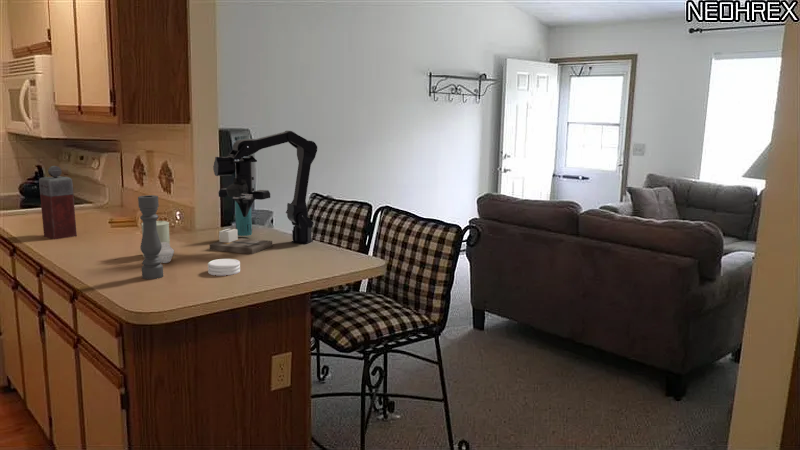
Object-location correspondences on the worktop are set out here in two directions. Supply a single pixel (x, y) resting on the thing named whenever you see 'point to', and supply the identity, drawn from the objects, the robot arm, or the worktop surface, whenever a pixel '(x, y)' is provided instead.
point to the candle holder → (150, 238)
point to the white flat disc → (223, 267)
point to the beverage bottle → (243, 222)
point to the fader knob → (228, 235)
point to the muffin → (166, 252)
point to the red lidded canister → (57, 205)
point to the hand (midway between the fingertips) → (245, 216)
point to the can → (161, 231)
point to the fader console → (242, 246)
